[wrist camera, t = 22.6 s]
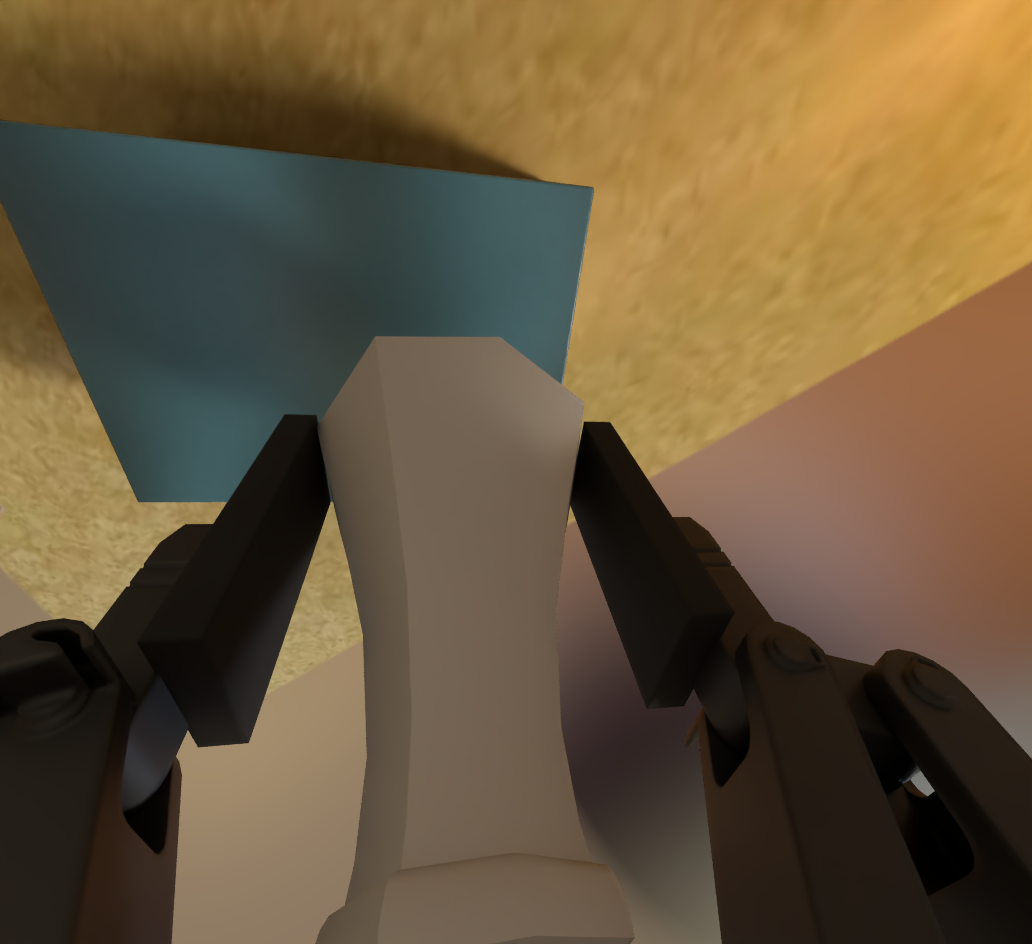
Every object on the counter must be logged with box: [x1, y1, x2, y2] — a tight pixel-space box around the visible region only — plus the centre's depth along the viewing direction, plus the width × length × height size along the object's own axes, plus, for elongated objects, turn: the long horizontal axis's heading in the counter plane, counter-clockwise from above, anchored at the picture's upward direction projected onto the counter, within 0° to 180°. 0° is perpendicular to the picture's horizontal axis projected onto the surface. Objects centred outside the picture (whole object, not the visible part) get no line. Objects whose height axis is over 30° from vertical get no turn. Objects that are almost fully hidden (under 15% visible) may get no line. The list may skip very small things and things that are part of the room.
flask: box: [315, 336, 634, 944], centre depth 9 cm, size 7×7×10 cm
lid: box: [0, 120, 594, 502], centre depth 18 cm, size 18×13×1 cm
